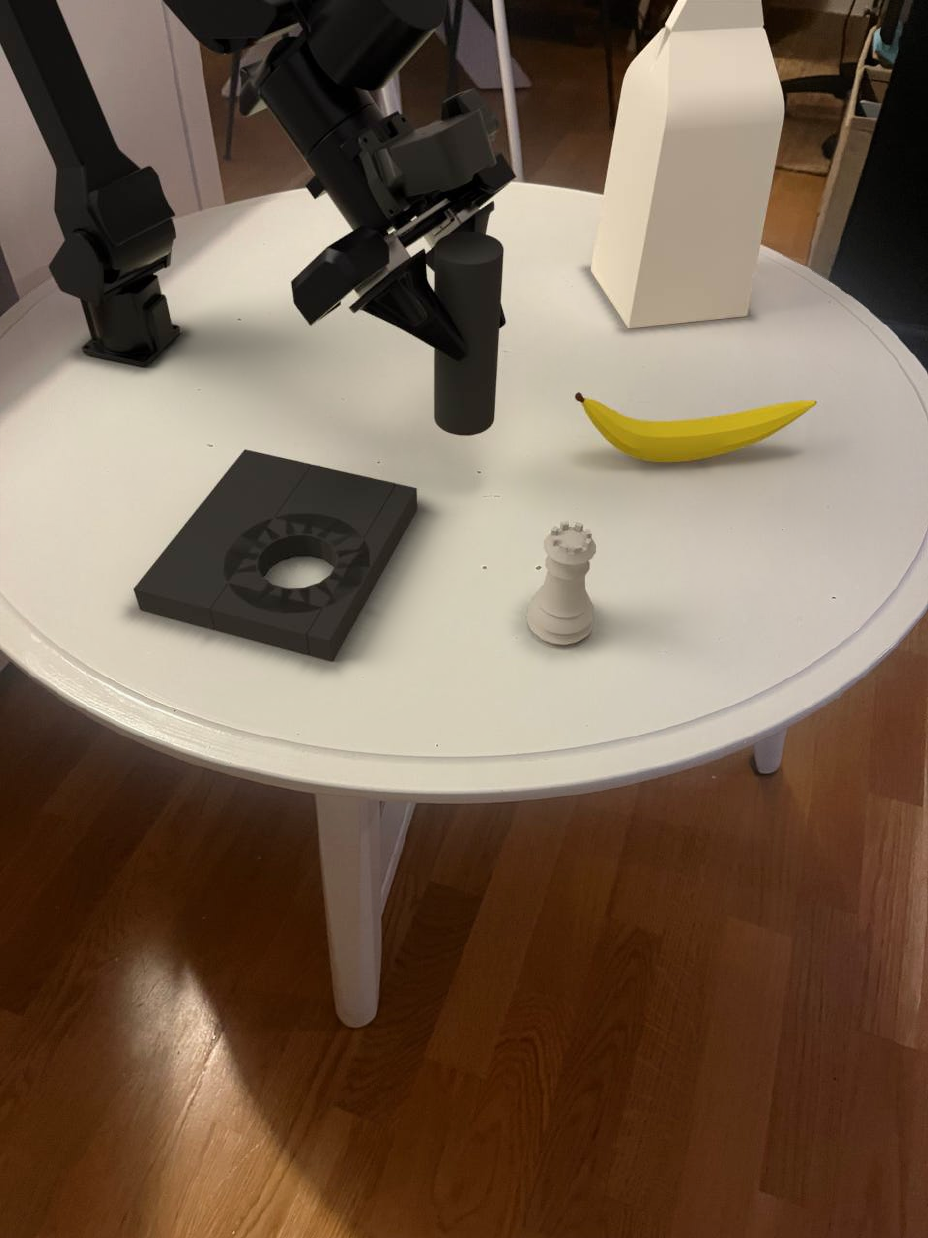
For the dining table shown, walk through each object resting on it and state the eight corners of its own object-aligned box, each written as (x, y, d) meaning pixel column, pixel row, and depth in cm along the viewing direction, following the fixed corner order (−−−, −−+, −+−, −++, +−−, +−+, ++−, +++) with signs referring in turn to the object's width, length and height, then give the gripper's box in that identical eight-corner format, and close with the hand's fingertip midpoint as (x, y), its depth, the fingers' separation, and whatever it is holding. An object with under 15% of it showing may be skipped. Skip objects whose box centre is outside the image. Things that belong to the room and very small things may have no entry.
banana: (805, 464, 78) (828, 396, 73) (570, 473, 76) (578, 405, 72) (793, 442, 80) (815, 374, 75) (564, 451, 78) (572, 383, 74)
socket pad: (139, 610, 65) (132, 588, 64) (248, 469, 76) (244, 448, 74) (332, 661, 63) (330, 641, 61) (417, 508, 73) (417, 487, 72)
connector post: (426, 406, 72) (425, 235, 63) (482, 396, 73) (490, 227, 64) (444, 440, 69) (446, 267, 60) (502, 430, 70) (513, 258, 61)
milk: (628, 328, 91) (678, 13, 72) (590, 270, 99) (626, -29, 80) (746, 315, 93) (825, 5, 74) (700, 259, 101) (761, -35, 82)
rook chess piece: (522, 601, 67) (530, 512, 61) (586, 598, 67) (601, 509, 61) (530, 650, 64) (540, 561, 58) (598, 647, 64) (614, 558, 58)
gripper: (311, 101, 50) (486, 357, 54) (498, 12, 61) (631, 231, 65) (220, 212, 59) (376, 426, 63) (398, 117, 69) (521, 304, 74)
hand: (482, 342), depth 66 cm, fingers closed on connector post, 4 cm apart
